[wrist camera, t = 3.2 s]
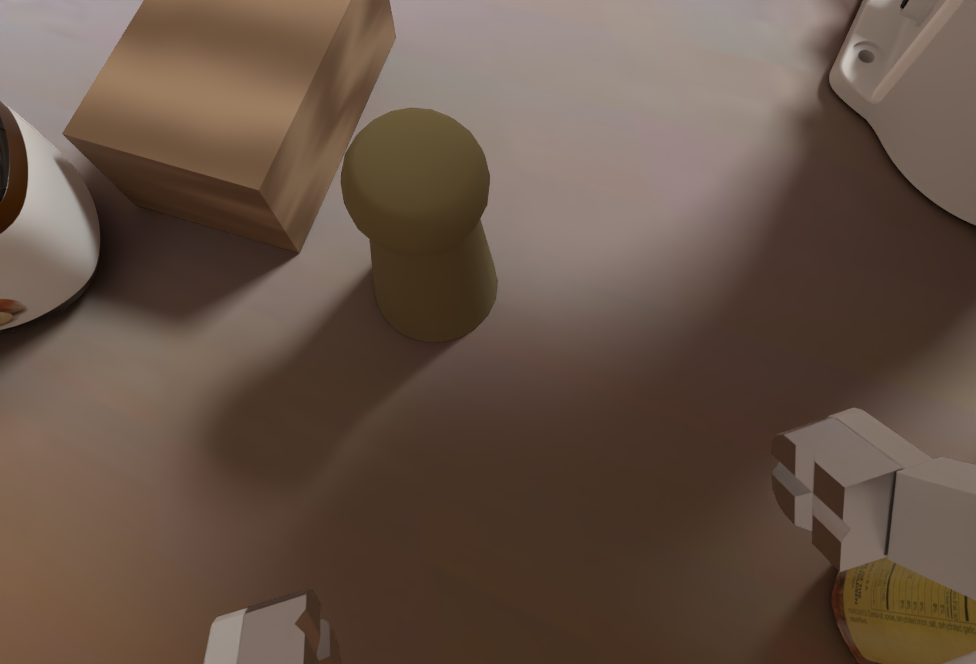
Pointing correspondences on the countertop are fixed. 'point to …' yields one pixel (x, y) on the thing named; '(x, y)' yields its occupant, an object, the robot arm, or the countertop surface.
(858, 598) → the sauce bottle
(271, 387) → the countertop surface
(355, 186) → the cork
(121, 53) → the wooden block
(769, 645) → the countertop surface
